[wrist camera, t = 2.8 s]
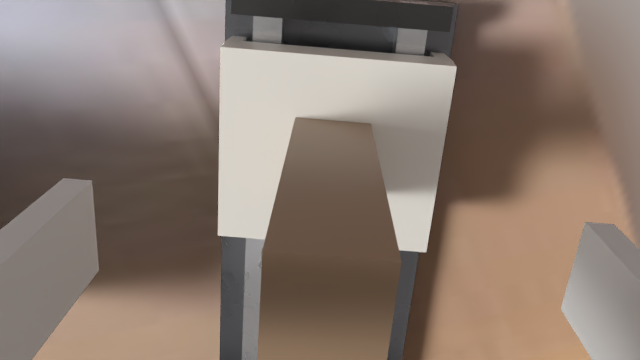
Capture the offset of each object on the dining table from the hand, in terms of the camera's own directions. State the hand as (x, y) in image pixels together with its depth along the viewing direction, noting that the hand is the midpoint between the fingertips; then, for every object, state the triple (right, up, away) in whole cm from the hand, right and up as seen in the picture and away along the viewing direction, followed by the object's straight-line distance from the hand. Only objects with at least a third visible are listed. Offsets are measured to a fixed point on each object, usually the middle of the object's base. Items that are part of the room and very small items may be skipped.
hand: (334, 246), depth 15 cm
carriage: (0, +4, +11) cm, 11 cm away
